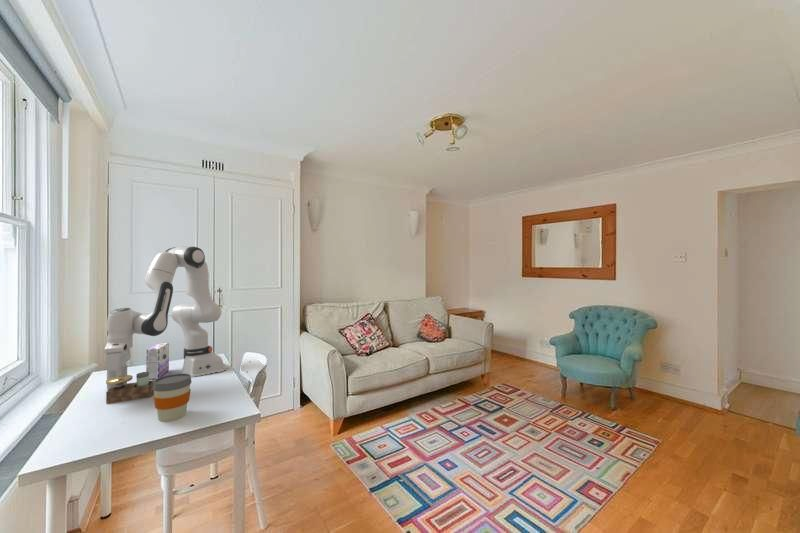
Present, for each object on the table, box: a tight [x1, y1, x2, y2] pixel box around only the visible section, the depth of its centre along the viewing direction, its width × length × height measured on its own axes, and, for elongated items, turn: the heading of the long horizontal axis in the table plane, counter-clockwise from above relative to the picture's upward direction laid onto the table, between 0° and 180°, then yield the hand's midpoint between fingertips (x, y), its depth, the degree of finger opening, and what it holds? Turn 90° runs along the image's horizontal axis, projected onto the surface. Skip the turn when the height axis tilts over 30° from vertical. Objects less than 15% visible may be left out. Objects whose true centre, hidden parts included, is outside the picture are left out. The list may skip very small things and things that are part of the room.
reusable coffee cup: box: [152, 373, 192, 423], centre depth 125 cm, size 13×13×15 cm
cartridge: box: [135, 371, 150, 387], centre depth 146 cm, size 5×5×10 cm
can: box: [106, 363, 128, 390], centre depth 155 cm, size 8×8×12 cm
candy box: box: [145, 342, 170, 381], centre depth 173 cm, size 14×6×16 cm, turn 17°
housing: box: [105, 379, 155, 405], centre depth 144 cm, size 16×9×5 cm, turn 118°
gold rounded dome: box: [105, 374, 134, 389], centre depth 142 cm, size 9×9×6 cm
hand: (119, 375), depth 142 cm, fingers closed
